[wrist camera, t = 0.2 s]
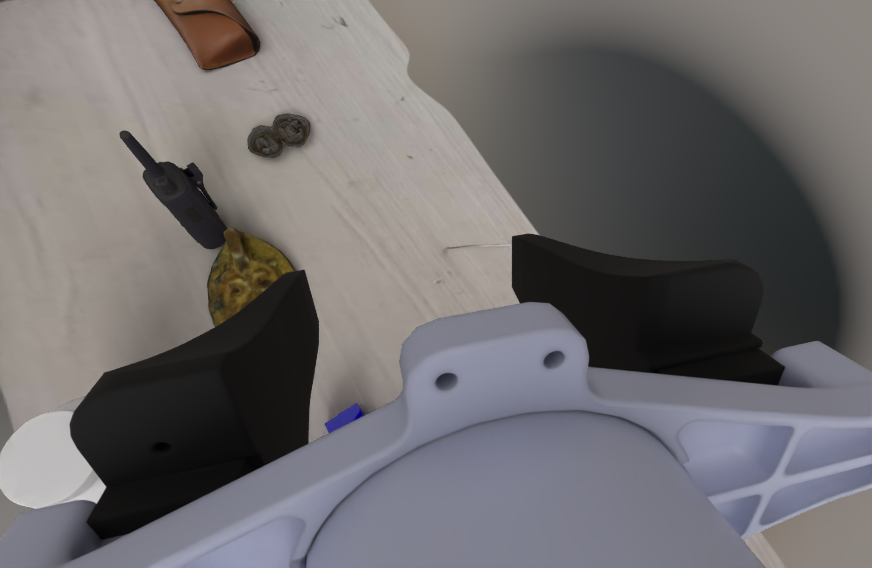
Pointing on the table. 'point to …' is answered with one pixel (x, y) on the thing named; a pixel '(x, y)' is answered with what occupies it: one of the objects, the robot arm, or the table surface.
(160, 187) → the two-way radio
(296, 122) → the corroded twin loop
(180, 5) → the sunglasses case
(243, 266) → the seal
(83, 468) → the pill bottle
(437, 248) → the table surface
